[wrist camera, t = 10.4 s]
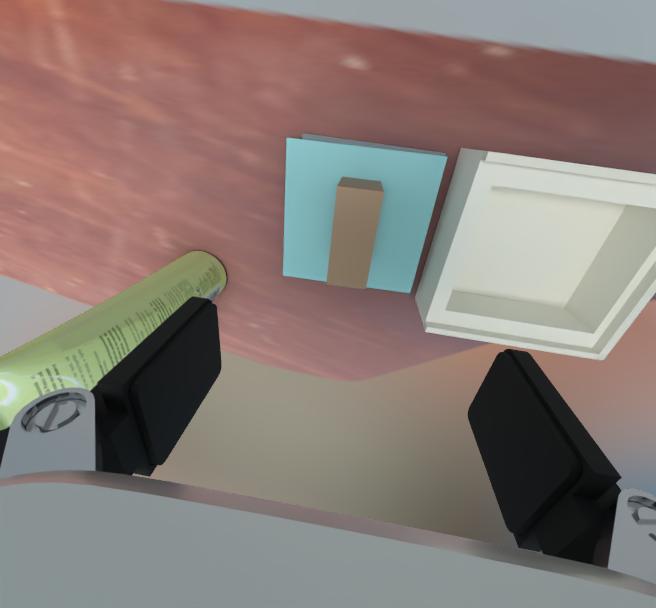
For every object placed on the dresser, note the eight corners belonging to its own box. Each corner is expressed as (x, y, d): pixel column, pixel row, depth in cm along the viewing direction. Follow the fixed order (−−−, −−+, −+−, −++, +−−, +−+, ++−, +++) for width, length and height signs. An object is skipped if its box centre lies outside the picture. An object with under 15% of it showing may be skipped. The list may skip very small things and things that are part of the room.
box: (652, 174, 22) (738, 185, 17) (560, 320, 28) (603, 360, 23) (460, 147, 22) (488, 151, 17) (414, 297, 29) (425, 331, 24)
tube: (165, 260, 30) (-95, 423, 13) (199, 234, 28) (-53, 383, 11) (205, 302, 32) (24, 491, 15) (239, 280, 30) (76, 466, 13)
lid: (445, 156, 22) (468, 162, 17) (409, 289, 28) (418, 322, 23) (288, 137, 23) (267, 138, 18) (284, 272, 29) (267, 301, 24)
